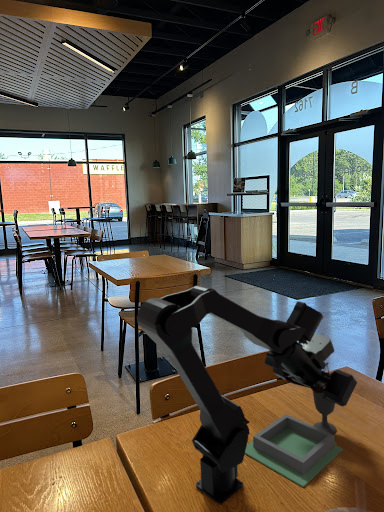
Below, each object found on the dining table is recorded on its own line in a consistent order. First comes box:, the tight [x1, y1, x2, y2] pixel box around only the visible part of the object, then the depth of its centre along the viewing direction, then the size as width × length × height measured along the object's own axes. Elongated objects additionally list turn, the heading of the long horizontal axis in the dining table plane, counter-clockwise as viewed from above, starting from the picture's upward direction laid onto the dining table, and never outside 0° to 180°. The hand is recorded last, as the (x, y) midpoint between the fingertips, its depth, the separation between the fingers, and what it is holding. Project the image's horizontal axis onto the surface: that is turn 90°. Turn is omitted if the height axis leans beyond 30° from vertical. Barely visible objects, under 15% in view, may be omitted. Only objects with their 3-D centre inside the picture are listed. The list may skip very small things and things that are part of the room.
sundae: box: [311, 362, 337, 435], centre depth 86 cm, size 7×7×15 cm
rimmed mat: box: [245, 413, 344, 488], centre depth 79 cm, size 15×15×3 cm
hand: (328, 392), depth 86 cm, fingers closed on sundae, 6 cm apart
